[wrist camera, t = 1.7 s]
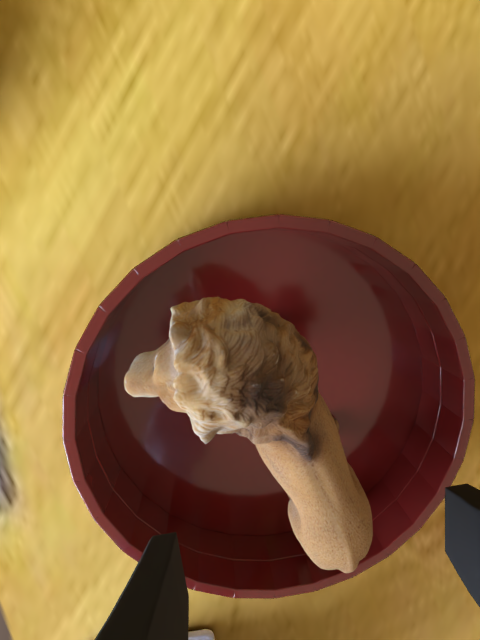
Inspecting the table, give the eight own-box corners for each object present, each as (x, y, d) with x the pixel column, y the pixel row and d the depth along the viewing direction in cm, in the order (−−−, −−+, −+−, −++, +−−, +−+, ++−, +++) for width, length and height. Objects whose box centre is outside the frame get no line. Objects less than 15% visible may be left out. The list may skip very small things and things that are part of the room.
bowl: (430, 512, 22) (472, 564, 18) (126, 563, 21) (109, 628, 17) (426, 197, 18) (478, 188, 14) (52, 244, 17) (12, 247, 13)
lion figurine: (139, 315, 18) (71, 395, 9) (233, 245, 17) (259, 258, 9) (312, 527, 21) (386, 739, 12) (394, 473, 21) (531, 650, 12)
